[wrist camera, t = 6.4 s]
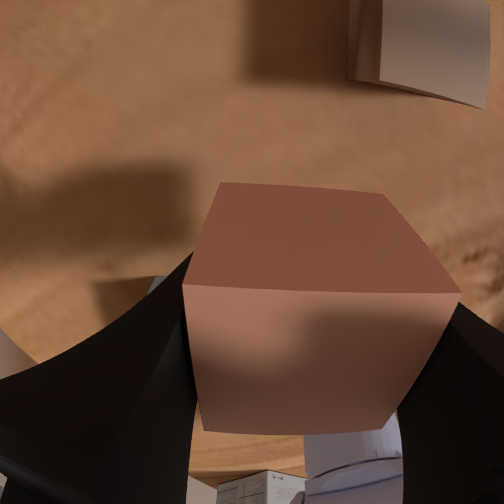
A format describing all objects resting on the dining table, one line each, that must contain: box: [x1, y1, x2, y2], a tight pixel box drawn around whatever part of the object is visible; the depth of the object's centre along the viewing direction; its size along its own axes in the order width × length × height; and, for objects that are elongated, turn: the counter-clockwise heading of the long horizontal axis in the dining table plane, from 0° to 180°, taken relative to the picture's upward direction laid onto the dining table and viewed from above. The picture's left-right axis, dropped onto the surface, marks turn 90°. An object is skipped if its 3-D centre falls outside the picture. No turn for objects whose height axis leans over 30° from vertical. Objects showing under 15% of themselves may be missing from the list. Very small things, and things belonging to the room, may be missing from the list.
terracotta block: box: [182, 183, 462, 435], centre depth 8 cm, size 5×5×5 cm
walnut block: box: [345, 0, 490, 110], centre depth 10 cm, size 5×5×5 cm
